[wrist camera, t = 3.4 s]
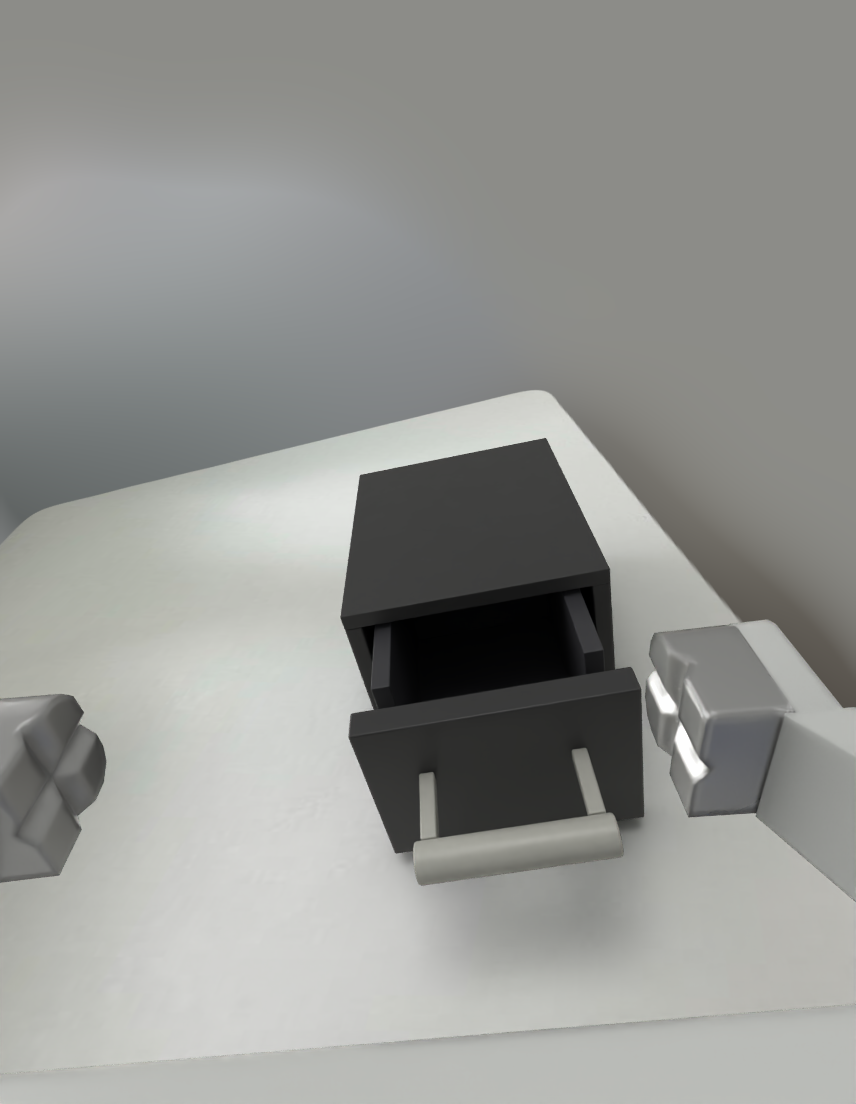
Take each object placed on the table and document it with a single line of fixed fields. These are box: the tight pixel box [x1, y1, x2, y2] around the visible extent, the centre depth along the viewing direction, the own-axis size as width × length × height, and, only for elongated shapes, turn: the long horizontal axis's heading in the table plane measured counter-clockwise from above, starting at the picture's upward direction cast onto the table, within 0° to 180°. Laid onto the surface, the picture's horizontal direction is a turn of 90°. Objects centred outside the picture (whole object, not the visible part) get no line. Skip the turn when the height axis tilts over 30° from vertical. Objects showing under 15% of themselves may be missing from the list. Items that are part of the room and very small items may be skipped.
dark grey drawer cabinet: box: [340, 438, 615, 710], centre depth 36 cm, size 15×12×10 cm
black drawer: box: [349, 588, 644, 886], centre depth 29 cm, size 18×11×8 cm, turn 2°
